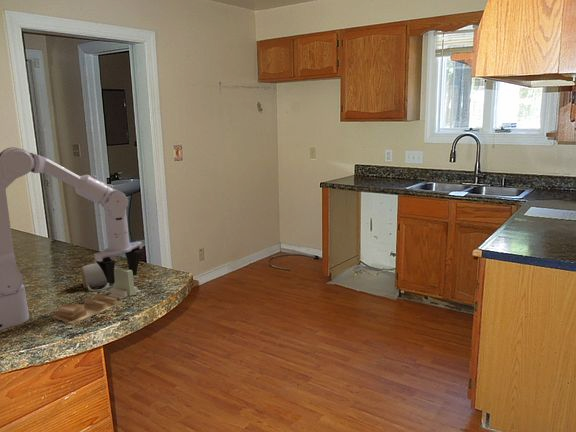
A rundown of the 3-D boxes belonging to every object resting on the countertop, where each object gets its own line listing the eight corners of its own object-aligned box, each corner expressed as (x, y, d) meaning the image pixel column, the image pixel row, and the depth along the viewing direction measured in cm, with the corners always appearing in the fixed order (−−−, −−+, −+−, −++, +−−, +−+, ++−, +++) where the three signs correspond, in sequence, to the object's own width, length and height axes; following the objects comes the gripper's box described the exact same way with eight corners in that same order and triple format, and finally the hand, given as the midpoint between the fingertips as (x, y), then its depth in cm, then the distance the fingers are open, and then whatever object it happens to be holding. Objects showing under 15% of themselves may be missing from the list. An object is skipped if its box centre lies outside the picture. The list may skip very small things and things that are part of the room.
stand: (121, 302, 129) (120, 293, 129) (107, 298, 133) (106, 290, 132) (141, 293, 135) (140, 285, 135) (127, 290, 138) (126, 282, 138)
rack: (72, 327, 114) (71, 317, 114) (51, 320, 119) (49, 310, 119) (123, 305, 127) (122, 297, 126) (101, 299, 132) (100, 291, 131)
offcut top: (73, 315, 116) (72, 310, 116) (58, 312, 118) (58, 308, 118) (84, 309, 119) (83, 305, 119) (70, 307, 121) (69, 302, 121)
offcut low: (72, 320, 116) (71, 316, 116) (57, 316, 119) (57, 311, 119) (86, 314, 119) (86, 310, 119) (72, 310, 122) (71, 306, 122)
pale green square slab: (130, 295, 131) (127, 272, 130) (114, 291, 135) (111, 268, 133) (134, 293, 132) (132, 270, 131) (118, 289, 136) (116, 266, 135)
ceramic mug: (82, 285, 144) (79, 261, 142) (110, 280, 147) (107, 257, 146) (85, 297, 135) (81, 272, 133) (115, 291, 138) (112, 267, 136)
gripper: (104, 240, 122) (110, 289, 125) (147, 228, 134) (151, 273, 137) (87, 237, 126) (93, 285, 128) (131, 225, 138) (135, 270, 140)
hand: (122, 279), depth 133 cm, fingers open, 7 cm apart
